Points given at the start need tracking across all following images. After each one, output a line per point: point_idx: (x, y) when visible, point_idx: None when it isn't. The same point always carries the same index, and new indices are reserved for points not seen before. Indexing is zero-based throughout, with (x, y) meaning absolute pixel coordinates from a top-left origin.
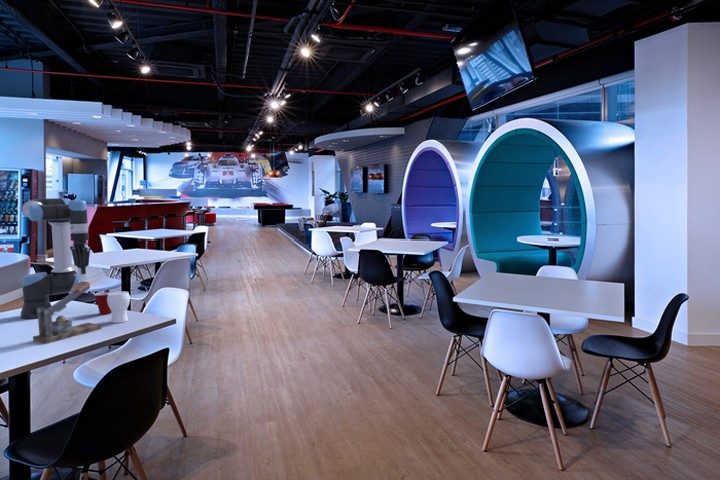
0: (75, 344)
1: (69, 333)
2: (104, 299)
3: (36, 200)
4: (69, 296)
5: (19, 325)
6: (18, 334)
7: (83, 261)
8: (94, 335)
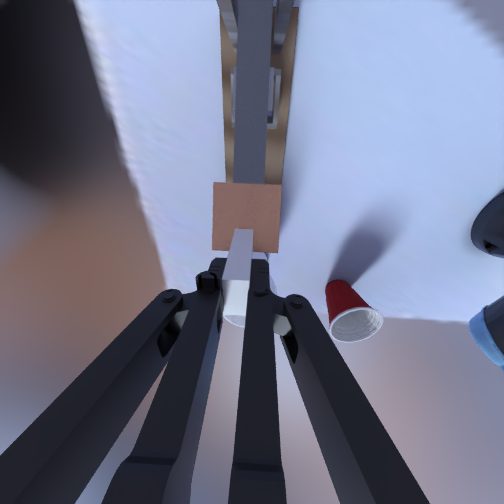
0: (139, 65)
1: (223, 108)
2: (336, 306)
3: None
4: (243, 143)
5: (500, 124)
6: (418, 44)
7: (134, 329)
8: (186, 157)
